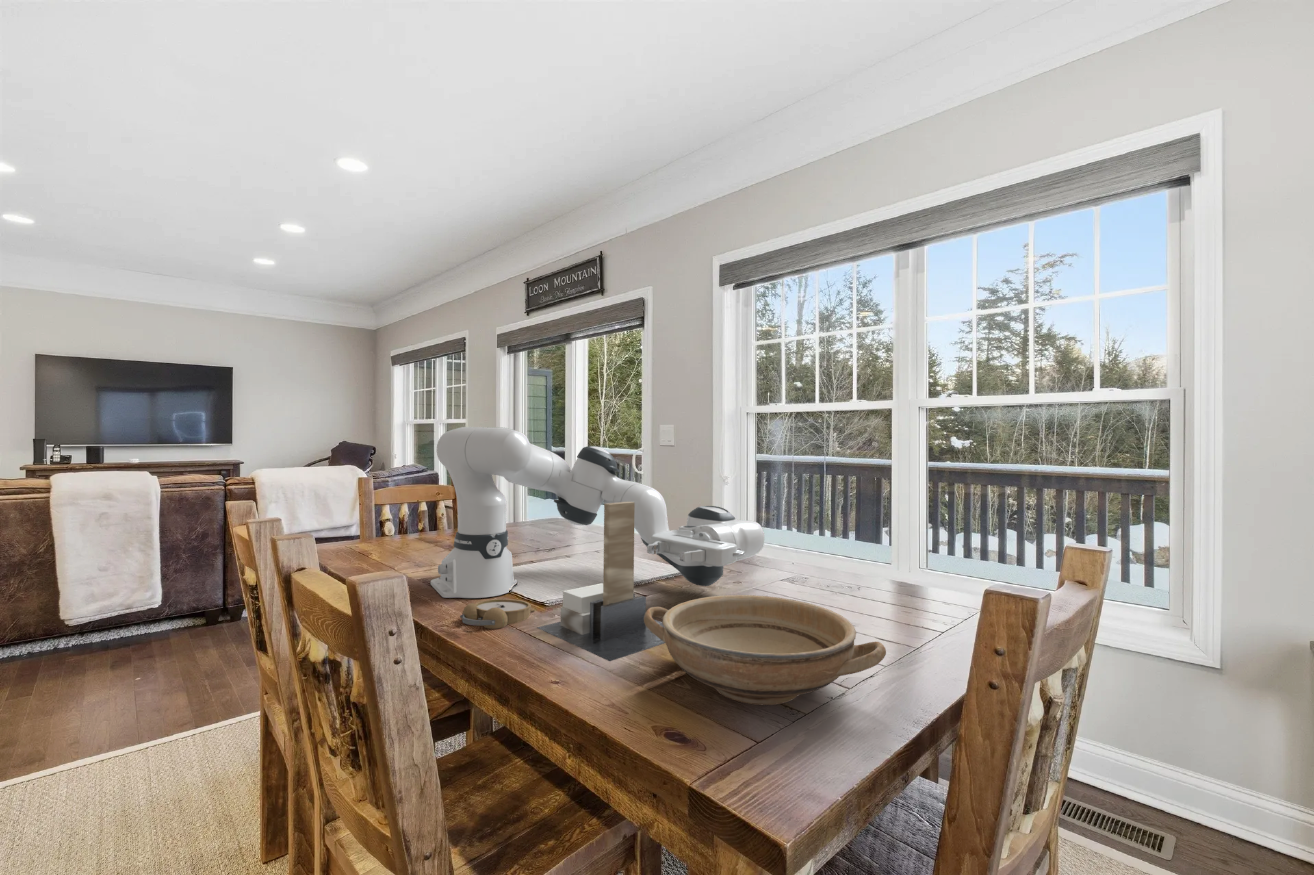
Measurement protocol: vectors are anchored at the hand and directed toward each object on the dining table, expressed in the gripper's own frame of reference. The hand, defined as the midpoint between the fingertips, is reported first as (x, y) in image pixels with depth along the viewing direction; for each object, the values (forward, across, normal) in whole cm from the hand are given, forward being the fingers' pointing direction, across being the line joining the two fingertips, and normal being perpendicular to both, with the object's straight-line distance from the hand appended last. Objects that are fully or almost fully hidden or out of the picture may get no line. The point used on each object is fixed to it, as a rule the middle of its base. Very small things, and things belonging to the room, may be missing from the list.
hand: (665, 553), depth 118 cm
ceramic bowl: (+10, -30, -14) cm, 35 cm away
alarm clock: (+25, +22, -15) cm, 36 cm away
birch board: (+12, 0, -13) cm, 18 cm away
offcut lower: (+12, +6, -13) cm, 19 cm away
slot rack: (+12, 0, -14) cm, 19 cm away
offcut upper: (+13, +7, -10) cm, 17 cm away
